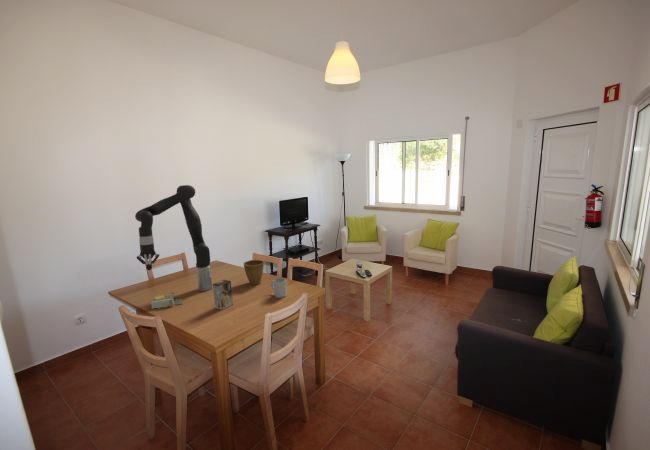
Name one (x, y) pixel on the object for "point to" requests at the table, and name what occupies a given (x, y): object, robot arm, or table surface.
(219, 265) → the table surface
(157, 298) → the block
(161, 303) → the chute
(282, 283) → the mug
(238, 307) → the table surface
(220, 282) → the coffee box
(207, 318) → the table surface
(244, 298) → the table surface
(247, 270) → the plant pot
